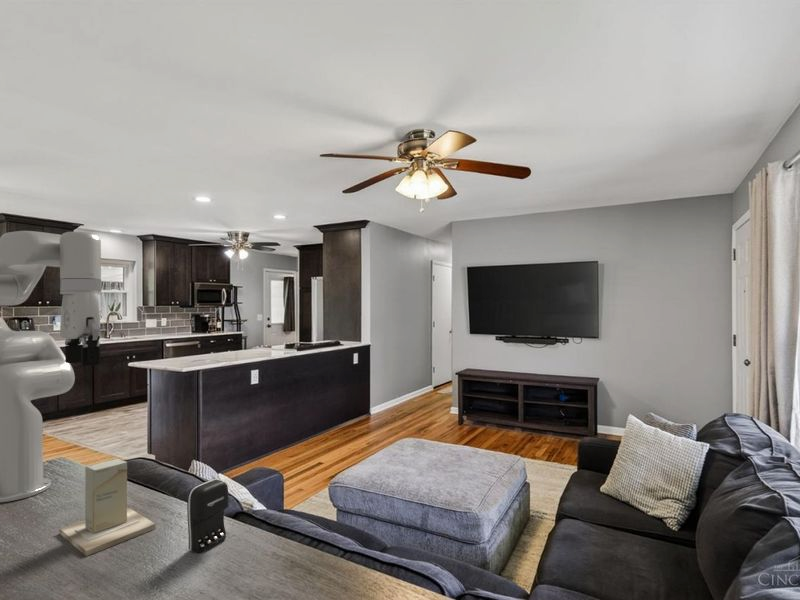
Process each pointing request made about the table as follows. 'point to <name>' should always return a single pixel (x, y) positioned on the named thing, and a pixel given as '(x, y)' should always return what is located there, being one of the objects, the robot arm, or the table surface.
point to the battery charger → (207, 514)
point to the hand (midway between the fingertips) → (82, 363)
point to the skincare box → (105, 495)
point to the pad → (106, 533)
